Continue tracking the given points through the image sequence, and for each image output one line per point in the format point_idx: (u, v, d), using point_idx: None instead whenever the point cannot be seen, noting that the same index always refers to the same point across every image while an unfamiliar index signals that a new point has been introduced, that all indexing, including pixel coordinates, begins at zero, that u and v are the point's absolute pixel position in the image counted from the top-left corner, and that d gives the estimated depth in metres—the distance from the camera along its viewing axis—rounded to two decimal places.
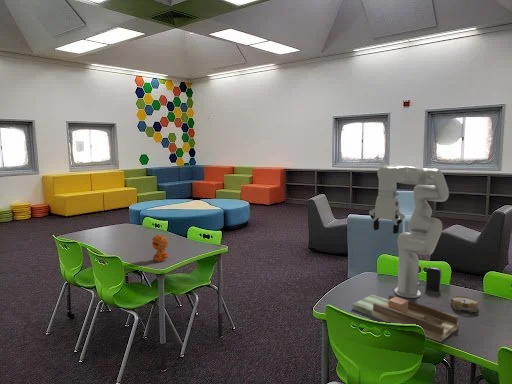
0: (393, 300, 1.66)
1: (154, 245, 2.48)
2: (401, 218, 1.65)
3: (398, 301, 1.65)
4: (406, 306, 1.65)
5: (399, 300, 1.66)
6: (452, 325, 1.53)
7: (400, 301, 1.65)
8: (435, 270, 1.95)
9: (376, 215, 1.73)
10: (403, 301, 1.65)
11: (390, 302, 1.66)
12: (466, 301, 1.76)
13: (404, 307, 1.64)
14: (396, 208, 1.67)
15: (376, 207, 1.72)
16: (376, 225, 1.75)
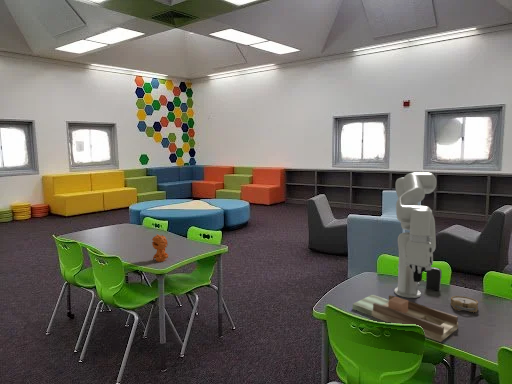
0: (393, 300, 1.66)
1: (154, 245, 2.48)
2: (426, 269, 1.55)
3: (398, 301, 1.65)
4: (406, 306, 1.65)
5: (399, 300, 1.66)
6: (452, 325, 1.53)
7: (400, 301, 1.65)
8: (435, 270, 1.95)
9: (407, 260, 1.59)
10: (403, 301, 1.65)
11: (390, 302, 1.66)
12: (466, 301, 1.76)
13: (404, 307, 1.64)
14: (430, 255, 1.53)
15: (407, 252, 1.59)
16: None
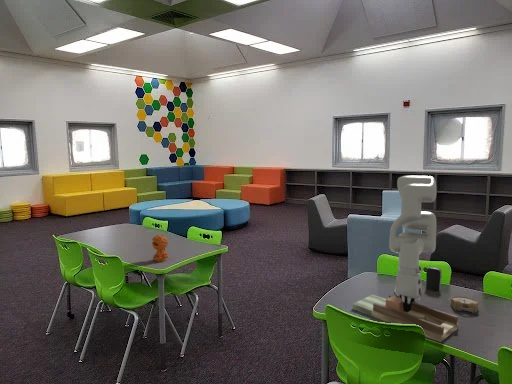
0: (390, 299, 1.67)
1: (154, 245, 2.48)
2: (415, 300, 1.59)
3: (395, 300, 1.66)
4: None
5: (396, 299, 1.67)
6: (452, 325, 1.53)
7: (397, 300, 1.66)
8: (435, 270, 1.95)
9: (397, 291, 1.64)
10: (400, 300, 1.66)
11: (387, 301, 1.67)
12: (466, 301, 1.76)
13: (401, 306, 1.65)
14: (419, 287, 1.58)
15: (397, 283, 1.63)
16: None
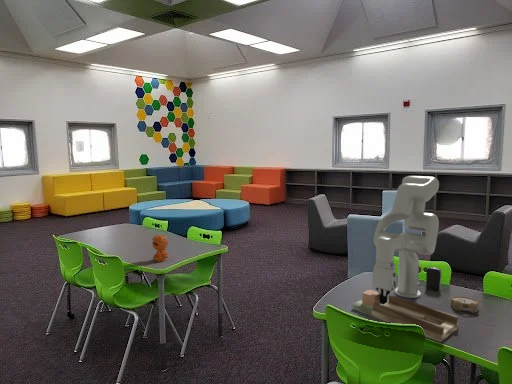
0: (366, 293, 1.75)
1: (154, 245, 2.48)
2: (391, 292, 1.68)
3: (371, 294, 1.74)
4: None
5: (372, 292, 1.75)
6: (452, 325, 1.53)
7: (373, 294, 1.73)
8: (435, 270, 1.95)
9: (373, 284, 1.72)
10: (376, 293, 1.74)
11: (364, 294, 1.74)
12: (466, 301, 1.75)
13: (377, 299, 1.73)
14: (394, 280, 1.66)
15: (373, 276, 1.72)
16: None
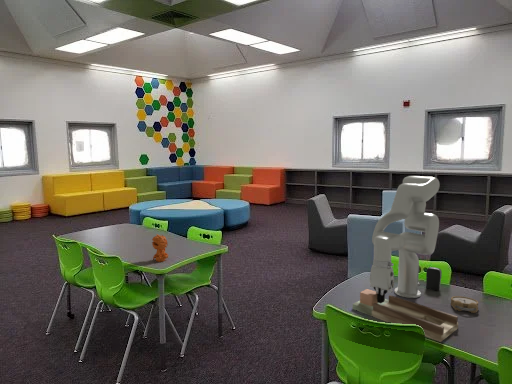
0: (364, 292, 1.75)
1: (154, 245, 2.48)
2: (388, 291, 1.69)
3: (369, 293, 1.74)
4: (376, 297, 1.75)
5: (370, 292, 1.76)
6: (452, 325, 1.53)
7: (370, 293, 1.74)
8: (435, 270, 1.95)
9: (371, 283, 1.73)
10: (373, 293, 1.74)
11: (361, 294, 1.75)
12: (466, 301, 1.75)
13: (374, 299, 1.73)
14: (391, 279, 1.67)
15: (371, 275, 1.73)
16: None
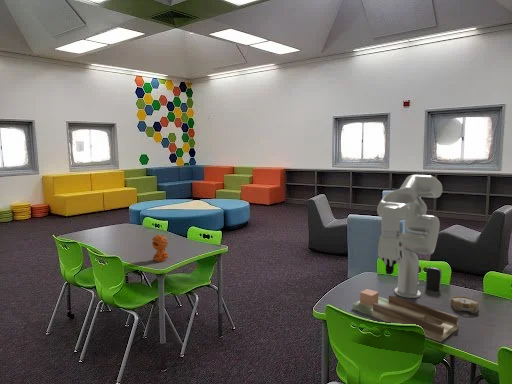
0: (364, 292, 1.75)
1: (154, 245, 2.48)
2: (397, 262, 1.65)
3: (369, 293, 1.74)
4: (376, 297, 1.75)
5: (370, 291, 1.76)
6: (452, 325, 1.53)
7: (370, 293, 1.74)
8: (435, 270, 1.95)
9: (379, 254, 1.69)
10: (373, 293, 1.74)
11: (361, 294, 1.75)
12: (466, 301, 1.75)
13: (374, 299, 1.73)
14: (400, 249, 1.63)
15: (379, 246, 1.69)
16: None
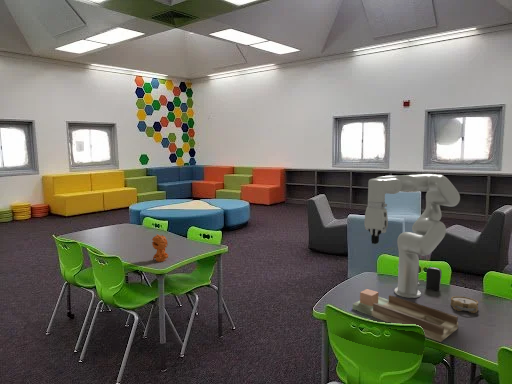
0: (364, 292, 1.75)
1: (154, 245, 2.48)
2: (382, 231, 1.75)
3: (369, 293, 1.74)
4: (376, 297, 1.75)
5: (370, 291, 1.76)
6: (452, 325, 1.53)
7: (370, 293, 1.74)
8: (435, 270, 1.95)
9: (366, 225, 1.80)
10: (373, 293, 1.74)
11: (361, 294, 1.75)
12: (466, 301, 1.75)
13: (374, 299, 1.73)
14: (384, 219, 1.74)
15: (366, 217, 1.79)
16: None
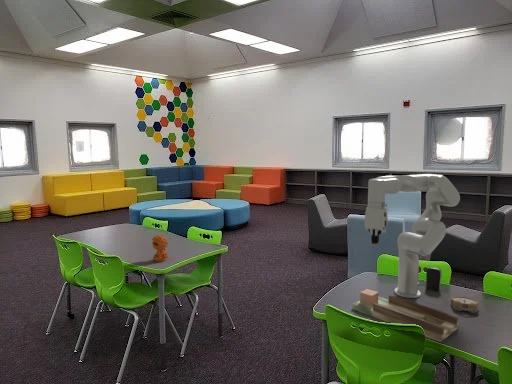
0: (364, 292, 1.75)
1: (154, 245, 2.48)
2: (382, 231, 1.75)
3: (369, 293, 1.74)
4: (376, 297, 1.75)
5: (370, 291, 1.76)
6: (452, 325, 1.53)
7: (370, 293, 1.74)
8: (435, 270, 1.95)
9: (366, 225, 1.80)
10: (373, 293, 1.74)
11: (361, 294, 1.75)
12: (466, 301, 1.75)
13: (374, 299, 1.73)
14: (384, 219, 1.74)
15: (366, 217, 1.79)
16: None
